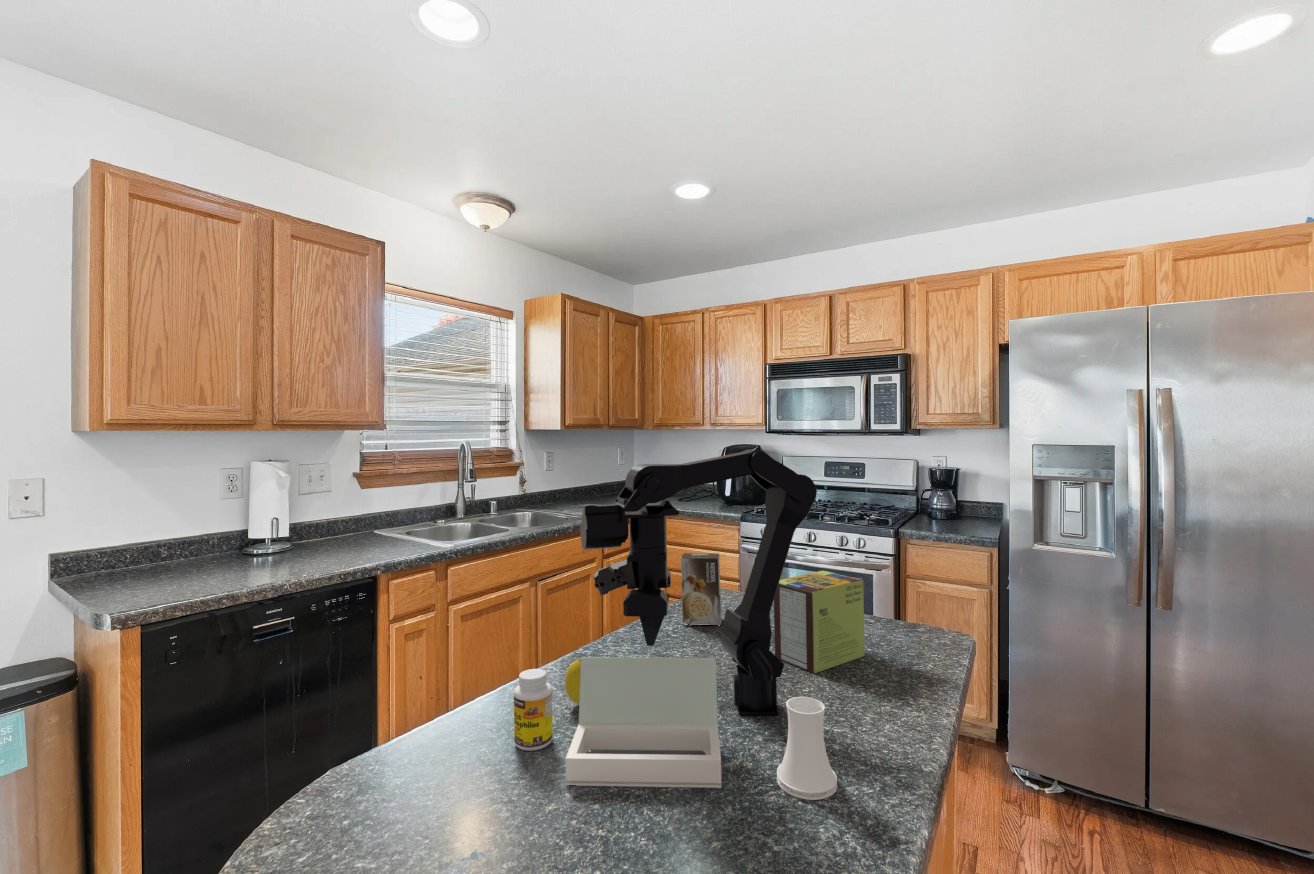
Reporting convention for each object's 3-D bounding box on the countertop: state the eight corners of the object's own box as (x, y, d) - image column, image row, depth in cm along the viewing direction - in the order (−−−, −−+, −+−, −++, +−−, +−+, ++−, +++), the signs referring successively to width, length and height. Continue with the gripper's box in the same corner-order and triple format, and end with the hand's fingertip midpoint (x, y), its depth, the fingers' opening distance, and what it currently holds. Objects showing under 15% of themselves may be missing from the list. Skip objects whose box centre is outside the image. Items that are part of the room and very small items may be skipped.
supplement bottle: (507, 749, 85) (505, 678, 85) (526, 731, 91) (525, 664, 91) (541, 755, 84) (540, 683, 84) (559, 735, 89) (558, 668, 89)
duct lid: (717, 725, 84) (717, 723, 86) (715, 657, 87) (715, 657, 88) (578, 724, 85) (580, 722, 87) (581, 657, 88) (582, 657, 89)
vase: (827, 807, 71) (826, 724, 71) (768, 788, 75) (766, 709, 75) (844, 776, 77) (842, 699, 77) (788, 760, 81) (787, 687, 81)
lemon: (593, 714, 96) (592, 665, 96) (560, 711, 97) (559, 663, 97) (602, 699, 101) (602, 652, 101) (572, 697, 102) (571, 650, 102)
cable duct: (718, 749, 84) (717, 725, 84) (721, 787, 75) (721, 760, 75) (579, 748, 85) (578, 724, 85) (566, 785, 76) (565, 758, 76)
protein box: (866, 656, 118) (864, 578, 118) (814, 674, 110) (812, 591, 110) (824, 641, 127) (823, 569, 127) (773, 657, 118) (771, 580, 118)
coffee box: (722, 618, 144) (720, 552, 144) (720, 627, 138) (719, 558, 138) (684, 617, 146) (683, 552, 145) (681, 625, 139) (680, 557, 139)
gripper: (605, 535, 102) (607, 625, 102) (586, 558, 83) (589, 668, 83) (669, 534, 101) (671, 625, 101) (665, 557, 83) (668, 668, 83)
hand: (650, 644), depth 92 cm, fingers closed
